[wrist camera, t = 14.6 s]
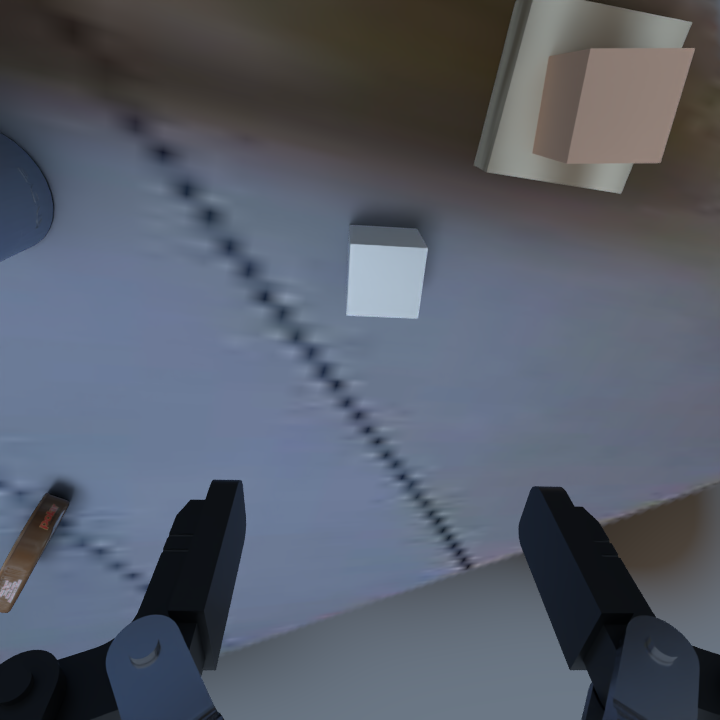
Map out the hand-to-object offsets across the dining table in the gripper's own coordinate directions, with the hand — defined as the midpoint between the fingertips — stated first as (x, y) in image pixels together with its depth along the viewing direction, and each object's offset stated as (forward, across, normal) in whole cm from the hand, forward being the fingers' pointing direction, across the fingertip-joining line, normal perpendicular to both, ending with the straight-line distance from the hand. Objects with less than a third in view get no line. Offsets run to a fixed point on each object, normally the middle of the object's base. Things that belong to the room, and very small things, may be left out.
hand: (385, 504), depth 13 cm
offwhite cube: (+28, -2, +2) cm, 28 cm away
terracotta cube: (+24, -14, -10) cm, 30 cm away
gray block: (+28, -14, -10) cm, 33 cm away
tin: (+28, +34, +35) cm, 56 cm away
